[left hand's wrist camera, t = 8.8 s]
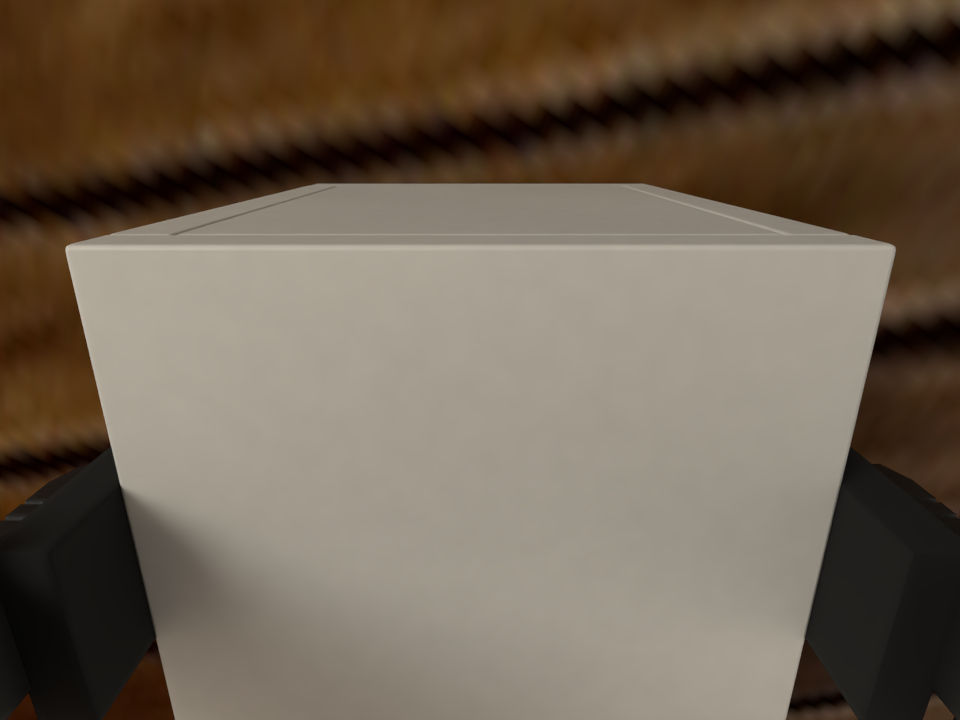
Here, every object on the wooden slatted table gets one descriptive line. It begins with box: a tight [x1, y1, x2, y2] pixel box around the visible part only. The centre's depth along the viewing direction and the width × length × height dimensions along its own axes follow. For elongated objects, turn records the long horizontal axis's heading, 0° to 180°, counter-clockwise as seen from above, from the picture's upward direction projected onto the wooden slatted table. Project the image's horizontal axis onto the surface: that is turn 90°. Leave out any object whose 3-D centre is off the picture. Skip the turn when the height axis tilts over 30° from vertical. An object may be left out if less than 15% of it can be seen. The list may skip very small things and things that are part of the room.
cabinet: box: [66, 184, 896, 720], centre depth 16 cm, size 22×10×12 cm, turn 0°
